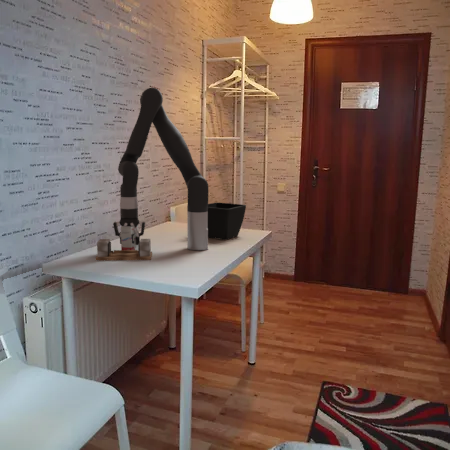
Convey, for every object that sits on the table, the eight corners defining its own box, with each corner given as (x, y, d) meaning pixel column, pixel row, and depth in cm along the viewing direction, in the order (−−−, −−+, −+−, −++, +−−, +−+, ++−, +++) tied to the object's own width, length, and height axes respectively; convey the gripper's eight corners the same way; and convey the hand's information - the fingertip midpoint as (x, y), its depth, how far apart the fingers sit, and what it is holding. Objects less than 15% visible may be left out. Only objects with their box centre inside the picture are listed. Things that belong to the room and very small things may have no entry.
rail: (152, 254, 191) (151, 238, 190) (150, 259, 182) (150, 242, 180) (99, 255, 189) (99, 238, 188) (95, 260, 179) (95, 243, 178)
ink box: (131, 254, 192) (130, 227, 190) (120, 253, 193) (120, 226, 191) (139, 249, 200) (138, 224, 198) (128, 249, 201) (128, 223, 199)
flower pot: (227, 241, 220) (228, 208, 218) (196, 237, 230) (196, 205, 227) (246, 236, 236) (247, 204, 234) (216, 232, 246) (216, 202, 243)
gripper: (146, 206, 198) (147, 243, 200) (113, 206, 196) (114, 243, 199) (145, 208, 190) (145, 246, 193) (110, 208, 189) (112, 247, 191)
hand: (129, 244), depth 196 cm, fingers closed on ink box, 5 cm apart
